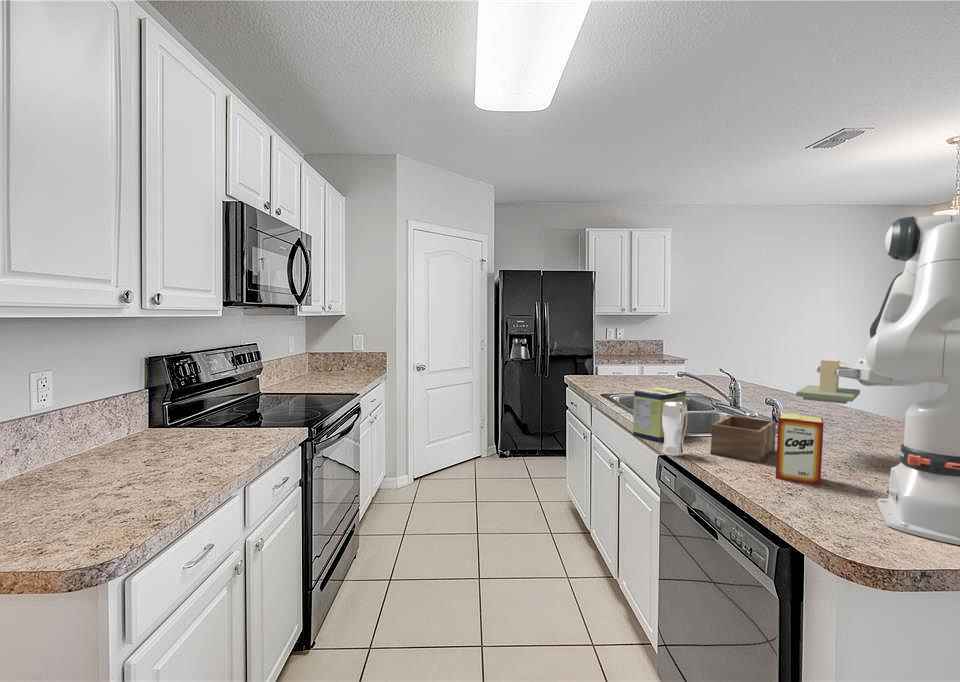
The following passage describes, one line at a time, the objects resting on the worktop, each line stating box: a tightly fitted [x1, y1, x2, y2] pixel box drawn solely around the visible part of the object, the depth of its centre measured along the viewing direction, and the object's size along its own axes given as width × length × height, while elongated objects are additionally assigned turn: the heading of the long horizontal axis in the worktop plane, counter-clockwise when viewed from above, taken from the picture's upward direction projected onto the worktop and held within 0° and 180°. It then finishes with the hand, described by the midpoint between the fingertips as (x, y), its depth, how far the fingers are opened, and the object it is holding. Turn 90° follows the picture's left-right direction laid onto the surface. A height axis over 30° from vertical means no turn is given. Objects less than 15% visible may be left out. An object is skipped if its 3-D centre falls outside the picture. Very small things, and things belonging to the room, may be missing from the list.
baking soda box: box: [775, 413, 825, 486], centre depth 128 cm, size 10×6×16 cm
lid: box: [795, 358, 861, 405], centre depth 147 cm, size 18×13×11 cm
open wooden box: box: [710, 414, 777, 464], centre depth 152 cm, size 18×13×9 cm
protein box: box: [632, 386, 687, 443], centre depth 171 cm, size 10×16×16 cm
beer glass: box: [662, 402, 688, 457], centre depth 150 cm, size 7×7×15 cm
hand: (826, 371), depth 146 cm, fingers closed on lid, 6 cm apart
